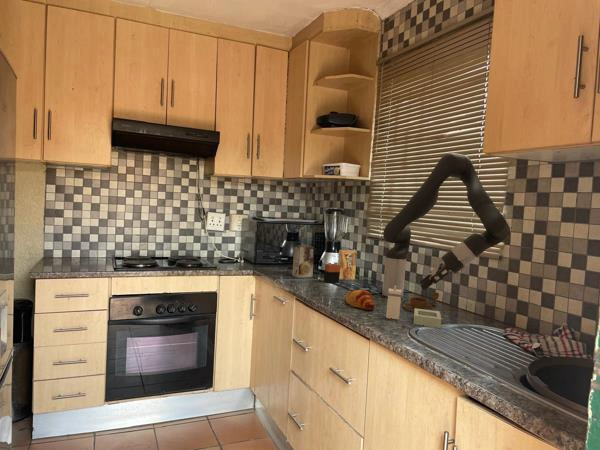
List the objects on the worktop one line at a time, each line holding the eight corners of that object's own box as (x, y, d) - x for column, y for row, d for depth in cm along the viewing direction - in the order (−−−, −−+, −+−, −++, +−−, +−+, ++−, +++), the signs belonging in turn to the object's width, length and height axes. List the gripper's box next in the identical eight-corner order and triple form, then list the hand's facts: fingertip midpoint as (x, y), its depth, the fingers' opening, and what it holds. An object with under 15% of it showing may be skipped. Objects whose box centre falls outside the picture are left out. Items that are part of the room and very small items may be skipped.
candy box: (351, 278, 241) (354, 250, 240) (354, 279, 237) (357, 251, 236) (336, 278, 238) (338, 249, 237) (339, 279, 234) (341, 250, 233)
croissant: (341, 307, 187) (334, 290, 185) (360, 296, 190) (354, 279, 188) (366, 320, 167) (358, 302, 165) (387, 307, 170) (380, 289, 168)
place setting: (393, 305, 184) (394, 291, 184) (434, 305, 191) (436, 292, 190) (417, 317, 168) (418, 301, 168) (461, 316, 174) (462, 301, 174)
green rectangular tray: (413, 316, 167) (414, 308, 166) (438, 319, 164) (439, 311, 164) (413, 324, 155) (414, 315, 155) (440, 327, 153) (441, 319, 153)
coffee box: (306, 275, 240) (308, 245, 239) (312, 277, 235) (315, 246, 234) (291, 275, 235) (294, 245, 234) (297, 277, 230) (300, 246, 229)
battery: (339, 283, 223) (341, 263, 223) (327, 283, 221) (328, 263, 220) (335, 281, 227) (336, 262, 227) (323, 281, 225) (325, 261, 224)
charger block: (386, 314, 165) (389, 284, 165) (399, 316, 164) (402, 285, 164) (385, 317, 161) (388, 286, 160) (398, 319, 160) (401, 287, 159)
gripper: (449, 247, 164) (414, 274, 167) (453, 251, 150) (415, 280, 153) (463, 263, 163) (428, 290, 166) (468, 268, 149) (429, 297, 152)
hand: (421, 285), depth 160 cm, fingers open, 8 cm apart
